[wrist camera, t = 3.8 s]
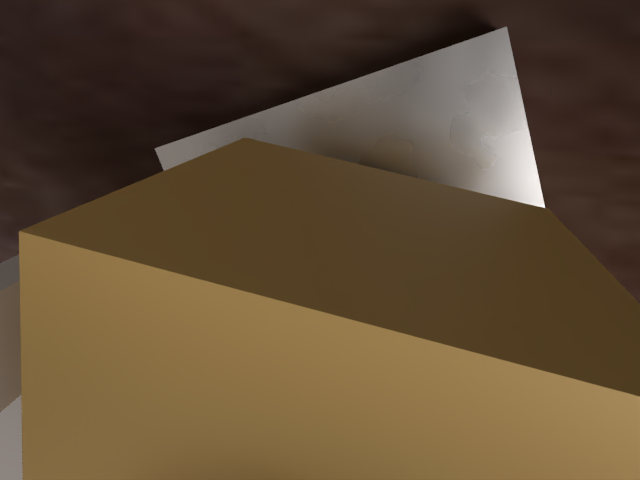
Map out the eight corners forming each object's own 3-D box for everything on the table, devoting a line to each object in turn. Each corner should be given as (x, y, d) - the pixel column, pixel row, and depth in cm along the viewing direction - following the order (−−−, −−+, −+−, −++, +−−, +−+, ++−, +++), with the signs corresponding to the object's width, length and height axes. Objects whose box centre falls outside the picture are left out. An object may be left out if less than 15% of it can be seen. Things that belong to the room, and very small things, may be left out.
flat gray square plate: (173, 142, 19) (-168, 248, 8) (498, 30, 16) (701, -58, 5) (279, 405, 22) (142, 751, 11) (568, 353, 19) (791, 763, 8)
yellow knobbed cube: (208, 383, 16) (-12, 724, 8) (245, 137, 13) (-42, 256, 5) (455, 453, 15) (506, 917, 7) (548, 209, 13) (820, 491, 4)
